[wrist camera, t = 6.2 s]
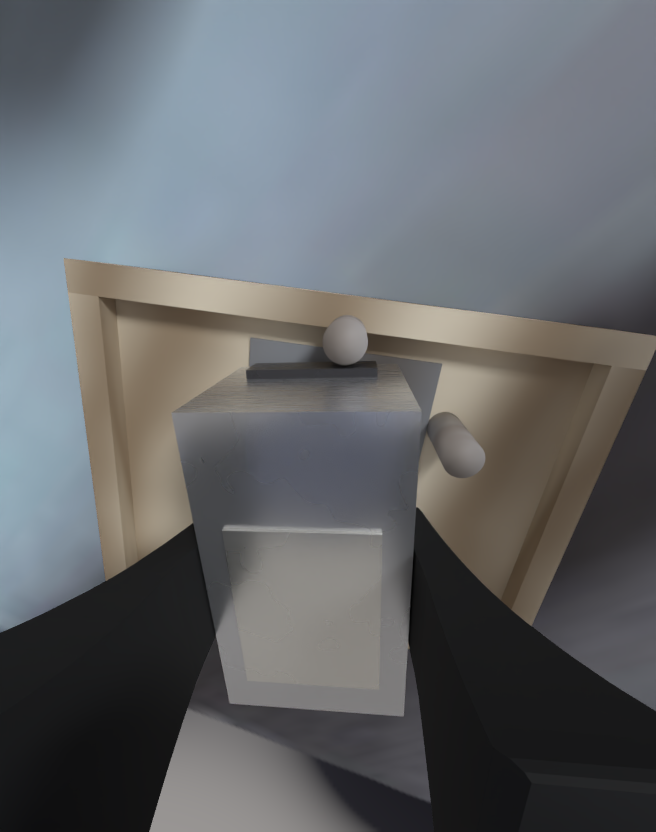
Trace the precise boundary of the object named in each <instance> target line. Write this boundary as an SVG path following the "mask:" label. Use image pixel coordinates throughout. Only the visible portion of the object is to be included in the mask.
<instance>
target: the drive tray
mask: <svg viewBox="0 0 656 832" xmlns="http://www.w3.org/2000/svg"><path fill="white" fill-rule="evenodd" d="M64 265H65V272H66V280H67V288H68V295H69V303H70V311H71V318H72V326H73V334H74V341H75V349H76V357H77V364H78V372H79V380H80V387H81V395H82V403H83V410H84V418H85V426H86V433H87V441H88V449H89V456H90V464H91V472H92V479H93V487H94V495H95V502H96V510H97V518H98V525H99V533H100V541H101V548H102V556H103V564H104V571H105V579H106V581H107V580H108V579H110V578H112V577H114V576H115V575H117V574H119V573H120V572H122V571H124V570H125V569H127V568H129V567H130V566H132V565H133V564H135V563H136V562H138V561H139V560H141V559H142V558H144V557H145V556H147V555H148V554H150V553H151V552H153V551H154V550H156V549H157V548H159V547H160V546H162V545H163V544H165V543H166V542H167V541H169V540H170V539H172V538H173V537H174V536H176V535H177V534H178V533H180V532H181V531H183V530H184V529H185V528H187V527H188V526H189V525H191V524H192V523H193V519H192V514H191V509H190V504H189V499H188V494H187V489H186V484H185V479H184V474H183V469H182V464H181V459H180V454H179V449H178V444H177V439H176V434H175V429H174V424H173V419H172V414H171V413H172V412H173V411H175V410H176V409H178V408H179V407H181V406H182V405H184V404H186V403H187V402H189V401H190V400H192V399H193V398H195V397H196V396H198V395H199V394H201V393H202V392H204V391H205V390H207V389H209V388H210V387H212V386H213V385H215V384H216V383H218V382H219V381H221V380H222V379H224V378H225V377H227V376H229V375H230V374H232V373H233V372H235V371H236V370H238V369H239V368H241V367H251V366H252V365H254V364H255V363H288V362H335V363H337V364H340V365H350V364H353V363H355V362H357V361H376V363H377V364H398V366H399V368H400V370H401V372H402V374H403V376H404V378H405V380H406V382H407V384H408V385H409V387H410V389H411V391H412V393H413V395H414V397H415V399H416V401H417V403H418V405H419V407H420V409H421V411H422V417H421V433H420V450H419V467H418V484H417V501H416V507H418V508H419V509H420V510H421V511H422V512H423V514H424V515H425V517H426V518H427V519H428V521H429V522H430V523H431V525H432V526H433V527H434V529H435V530H436V531H437V533H438V534H439V535H440V536H441V538H442V539H443V540H444V541H445V543H446V544H447V545H448V546H449V547H450V548H451V550H452V551H453V552H454V553H455V554H456V555H457V557H458V558H459V559H460V560H461V561H462V562H463V563H464V564H465V565H466V567H467V568H468V569H469V570H470V571H471V572H472V573H473V574H474V575H475V576H476V577H477V578H478V579H479V580H480V581H481V582H482V583H483V584H484V585H485V586H486V587H487V588H488V589H489V590H490V591H491V592H492V593H493V594H494V595H495V596H497V597H498V598H499V599H500V600H501V601H502V602H503V603H504V604H505V605H507V606H508V607H509V608H510V609H511V610H512V611H513V612H515V613H516V614H517V615H518V616H519V617H521V618H522V619H523V620H524V621H525V622H527V623H528V624H529V625H531V626H532V623H533V621H534V619H535V617H536V615H537V612H538V610H539V608H540V606H541V603H542V601H543V599H544V597H545V595H546V592H547V590H548V588H549V586H550V583H551V581H552V579H553V577H554V575H555V572H556V570H557V568H558V566H559V563H560V561H561V559H562V557H563V555H564V552H565V550H566V548H567V546H568V543H569V541H570V539H571V537H572V535H573V532H574V530H575V528H576V526H577V523H578V521H579V519H580V517H581V515H582V512H583V510H584V508H585V506H586V503H587V501H588V499H589V497H590V495H591V492H592V490H593V488H594V486H595V483H596V481H597V479H598V477H599V475H600V472H601V470H602V468H603V466H604V463H605V461H606V459H607V457H608V454H609V452H610V450H611V448H612V446H613V443H614V441H615V439H616V437H617V434H618V432H619V430H620V428H621V426H622V423H623V421H624V419H625V417H626V414H627V412H628V410H629V408H630V406H631V403H632V401H633V399H634V397H635V394H636V392H637V390H638V388H639V386H640V383H641V381H642V379H643V377H644V374H645V372H646V370H647V368H648V366H649V363H650V361H651V359H652V357H653V354H654V352H655V350H656V336H653V335H647V334H640V333H633V332H626V331H619V330H612V329H605V328H597V327H590V326H582V325H574V324H567V323H559V322H551V321H544V320H536V319H529V318H521V317H513V316H506V315H498V314H490V313H483V312H475V311H468V310H460V309H452V308H445V307H437V306H429V305H422V304H414V303H407V302H399V301H391V300H384V299H376V298H368V297H361V296H353V295H346V294H338V293H330V292H323V291H315V290H307V289H300V288H292V287H285V286H277V285H269V284H262V283H254V282H246V281H239V280H231V279H224V278H216V277H208V276H201V275H193V274H185V273H178V272H170V271H163V270H155V269H147V268H140V267H132V266H124V265H117V264H109V263H101V262H92V261H83V260H75V259H66V258H64ZM408 649H410V648H409V643H408Z"/></svg>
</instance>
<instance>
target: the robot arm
mask: <svg viewBox="0 0 656 832" xmlns="http://www.w3.org/2000/svg"><path fill="white" fill-rule="evenodd" d="M215 636H216V633H215V628H214V623H213V618H212V613H211V608H210V603H209V598H208V593H207V588H206V583H205V578H204V573H203V568H202V563H201V558H200V553H199V549H198V544H197V539H196V534H195V529H194V524H193V523H192V524H191V525H189V526H188V527H187V528H185V529H184V530H183V531H181V532H180V533H178V534H177V535H176V536H174V537H173V538H172V539H170V540H169V541H167V542H166V543H165V544H163V545H162V546H160V547H159V548H157V549H156V550H154V551H153V552H151V553H150V554H148V555H147V556H145V557H144V558H142V559H141V560H139V561H138V562H136V563H135V564H133V565H132V566H130V567H129V568H127V569H125V570H124V571H122V572H120V573H119V574H117V575H115V576H114V577H112V578H110V579H108V580H107V581H105V582H103V583H101V584H100V585H98V586H96V587H94V588H93V589H91V590H89V591H87V592H85V593H83V594H81V595H79V596H77V597H75V598H73V599H71V600H69V601H67V602H65V603H63V604H61V605H59V606H58V607H56V608H54V609H52V610H50V611H48V612H46V613H44V614H41V615H39V616H37V617H35V618H33V619H31V620H28V621H26V622H24V623H22V624H20V625H17V626H15V627H13V628H11V629H8V630H6V631H4V632H1V633H0V832H149V830H150V827H151V823H152V820H153V817H154V813H155V810H156V806H157V803H158V800H159V796H160V793H161V789H162V786H163V783H164V779H165V776H166V772H167V770H168V766H169V763H170V760H171V757H172V754H173V751H174V747H175V744H176V741H177V738H178V735H179V732H180V729H181V725H182V722H183V719H184V716H185V713H186V711H187V708H188V705H189V702H190V699H191V696H192V693H193V690H194V687H195V684H196V681H197V678H198V676H199V673H200V671H201V668H202V666H203V663H204V661H205V659H206V656H207V654H208V652H209V650H210V647H211V645H212V643H213V640H214V638H215ZM408 643H409V648H410V652H411V657H412V662H413V667H414V672H415V677H416V683H417V689H418V695H419V703H420V712H421V720H422V728H423V736H424V745H425V754H426V763H427V771H428V780H429V789H430V798H431V806H432V816H433V826H434V832H656V711H654V710H653V709H651V708H650V707H648V706H646V705H645V704H643V703H641V702H640V701H638V700H637V699H635V698H633V697H632V696H630V695H629V694H627V693H625V692H624V691H622V690H620V689H619V688H617V687H616V686H614V685H613V684H611V683H610V682H608V681H606V680H605V679H604V678H602V677H601V676H599V675H598V674H596V673H595V672H593V671H592V670H590V669H589V668H588V667H586V666H585V665H583V664H582V663H580V662H579V661H577V660H576V659H574V658H573V657H572V656H570V655H569V654H567V653H566V652H565V651H563V650H562V649H561V648H559V647H558V646H556V645H555V644H554V643H552V642H551V641H550V640H549V639H547V638H546V637H545V636H543V635H542V634H541V633H540V632H538V631H537V630H536V629H534V628H533V627H532V626H531V625H529V624H528V623H527V622H525V621H524V620H523V619H522V618H521V617H519V616H518V615H517V614H516V613H515V612H513V611H512V610H511V609H510V608H509V607H508V606H507V605H505V604H504V603H503V602H502V601H501V600H500V599H499V598H498V597H497V596H495V595H494V594H493V593H492V592H491V591H490V590H489V589H488V588H487V587H486V586H485V585H484V584H483V583H482V582H481V581H480V580H479V579H478V578H477V577H476V576H475V575H474V574H473V573H472V572H471V571H470V570H469V569H468V568H467V567H466V565H465V564H464V563H463V562H462V561H461V560H460V559H459V558H458V557H457V555H456V554H455V553H454V552H453V551H452V550H451V548H450V547H449V546H448V545H447V544H446V543H445V541H444V540H443V539H442V538H441V536H440V535H439V534H438V533H437V531H436V530H435V529H434V527H433V526H432V525H431V523H430V522H429V521H428V519H427V518H426V517H425V515H424V514H423V512H422V511H421V510H420V509H419V508H418V507H416V518H415V534H414V551H413V568H412V585H411V602H410V619H409V635H408Z"/></svg>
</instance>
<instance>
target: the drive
mask: <svg viewBox="0 0 656 832" xmlns="http://www.w3.org/2000/svg"><path fill="white" fill-rule="evenodd" d="M171 414H172V419H173V424H174V429H175V434H176V439H177V444H178V449H179V454H180V459H181V464H182V469H183V474H184V479H185V484H186V489H187V494H188V499H189V504H190V509H191V514H192V519H193V524H194V529H195V534H196V539H197V544H198V549H199V553H200V558H201V563H202V568H203V573H204V578H205V583H206V588H207V593H208V598H209V603H210V608H211V613H212V618H213V623H214V628H215V633H216V638H217V643H218V648H219V653H220V658H221V663H222V668H223V673H224V678H225V683H226V688H227V692H228V697H229V702H230V704H243V705H256V706H270V707H283V708H296V709H310V710H323V711H337V712H350V713H364V714H377V715H390V716H404V703H405V686H406V669H407V652H408V635H409V619H410V602H411V585H412V568H413V551H414V534H415V518H416V501H417V484H418V467H419V450H420V433H421V417H422V411H421V409H420V407H419V405H418V403H417V401H416V399H415V397H414V395H413V393H412V391H411V389H410V387H409V385H408V384H407V382H406V380H405V378H404V376H403V374H402V372H401V370H400V368H399V366H398V364H377V363H376V361H357V362H355V363H353V364H350V365H340V364H337V363H335V362H288V363H255V364H254V365H252V366H251V367H241V368H239V369H238V370H236V371H235V372H233V373H232V374H230V375H229V376H227V377H225V378H224V379H222V380H221V381H219V382H218V383H216V384H215V385H213V386H212V387H210V388H209V389H207V390H205V391H204V392H202V393H201V394H199V395H198V396H196V397H195V398H193V399H192V400H190V401H189V402H187V403H186V404H184V405H182V406H181V407H179V408H178V409H176V410H175V411H173V412H172V413H171Z"/></svg>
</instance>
